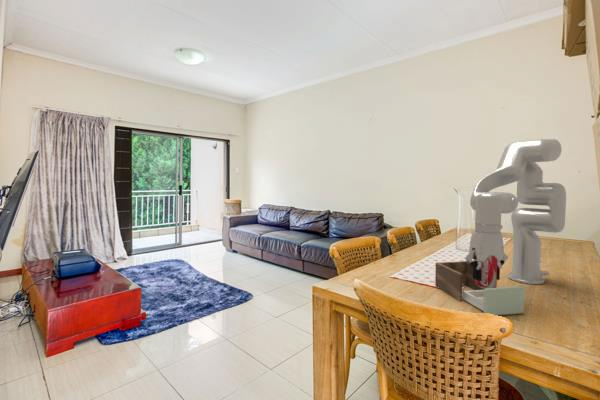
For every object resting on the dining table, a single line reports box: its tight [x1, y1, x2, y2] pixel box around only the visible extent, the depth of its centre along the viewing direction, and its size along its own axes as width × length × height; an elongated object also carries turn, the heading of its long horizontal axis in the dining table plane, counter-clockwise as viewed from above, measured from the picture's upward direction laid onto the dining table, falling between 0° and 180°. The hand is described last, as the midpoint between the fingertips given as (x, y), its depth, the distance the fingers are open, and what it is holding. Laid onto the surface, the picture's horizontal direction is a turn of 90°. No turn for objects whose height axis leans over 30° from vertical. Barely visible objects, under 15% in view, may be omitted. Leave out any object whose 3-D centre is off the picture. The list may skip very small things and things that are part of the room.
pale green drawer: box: [462, 285, 526, 316], centre depth 99 cm, size 14×15×9 cm
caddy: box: [434, 260, 484, 302], centre depth 111 cm, size 14×15×10 cm
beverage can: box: [476, 255, 498, 289], centre depth 99 cm, size 6×6×12 cm
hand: (486, 278), depth 99 cm, fingers closed on beverage can, 6 cm apart
